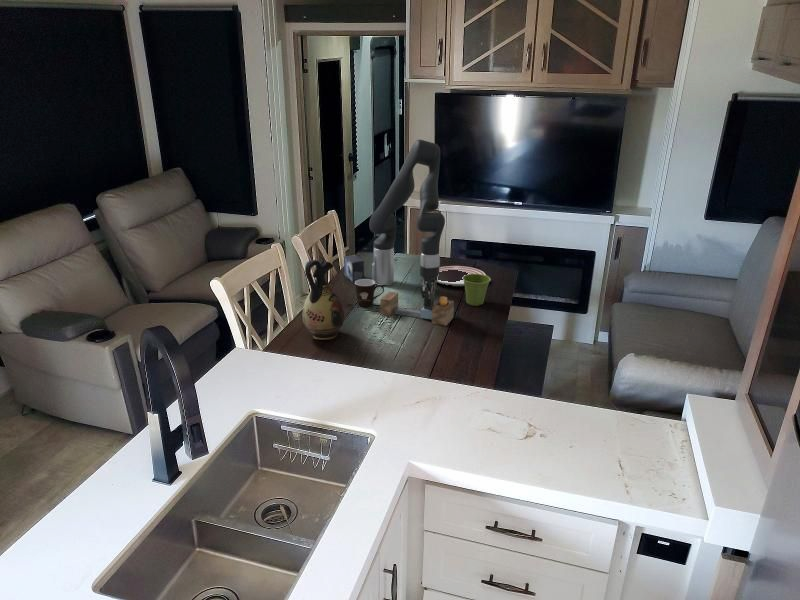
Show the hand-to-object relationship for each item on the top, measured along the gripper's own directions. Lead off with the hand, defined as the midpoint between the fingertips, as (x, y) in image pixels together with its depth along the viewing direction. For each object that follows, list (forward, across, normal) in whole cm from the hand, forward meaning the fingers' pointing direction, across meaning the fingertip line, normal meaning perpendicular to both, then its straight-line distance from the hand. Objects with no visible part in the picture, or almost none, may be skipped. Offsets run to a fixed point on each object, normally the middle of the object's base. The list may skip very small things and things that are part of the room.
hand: (428, 305), depth 234 cm
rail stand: (+6, 0, -5) cm, 8 cm away
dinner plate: (+6, -48, -3) cm, 48 cm away
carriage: (+6, 0, 0) cm, 6 cm away
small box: (+6, -30, -48) cm, 57 cm away
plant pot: (+6, -23, +13) cm, 27 cm away
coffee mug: (+6, -3, -28) cm, 29 cm away
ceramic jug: (+6, +31, -31) cm, 44 cm away
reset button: (0, 0, +6) cm, 6 cm away
